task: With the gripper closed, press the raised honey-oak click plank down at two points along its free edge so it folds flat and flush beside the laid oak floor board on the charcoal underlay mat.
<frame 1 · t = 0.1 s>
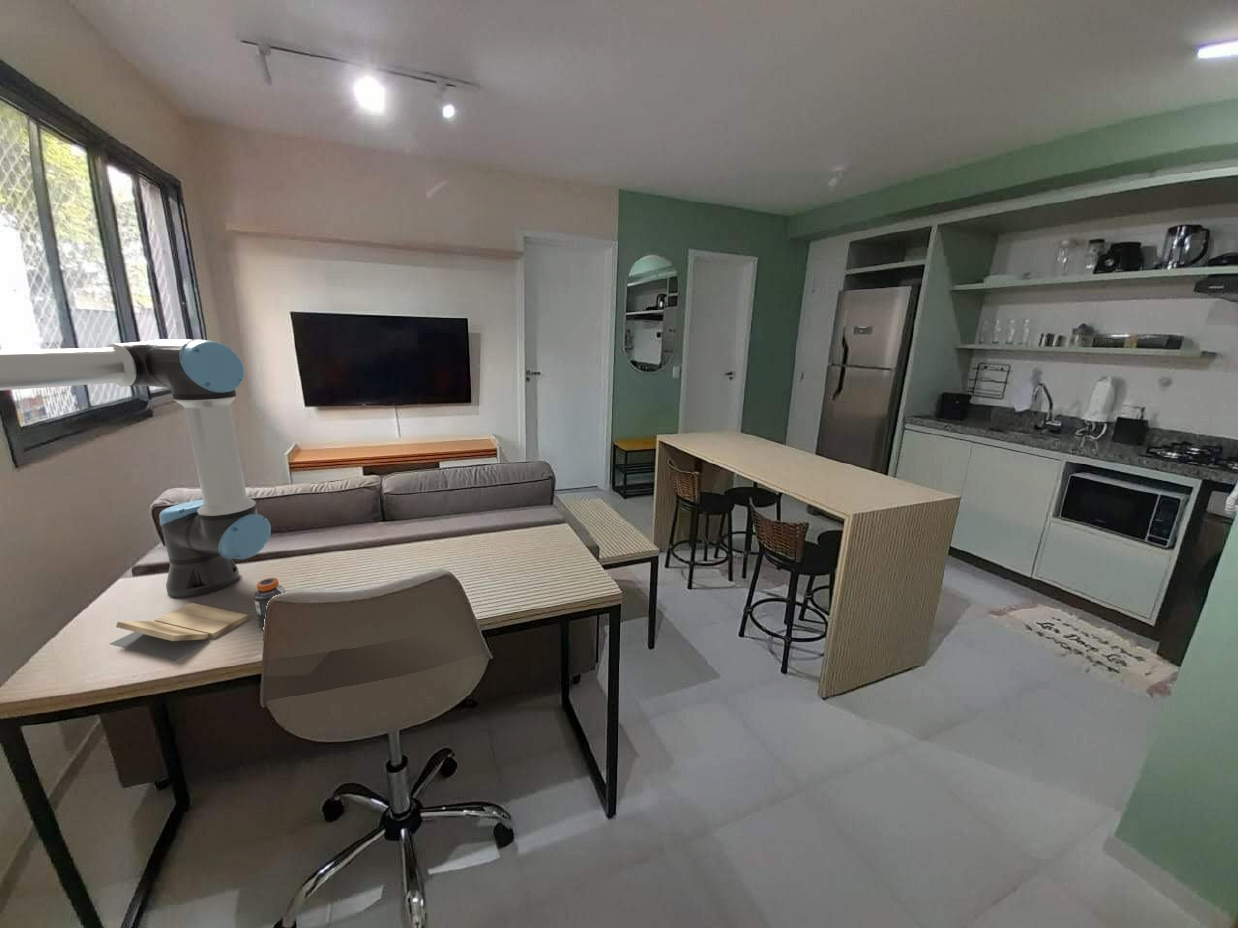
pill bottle: (275, 625, 116), on the table
click plank: (164, 630, 108), point 3 cm above the table, hinge at 30.0°
underlay mat: (185, 630, 113), on the table
floor board: (202, 622, 116), resting on underlay mat
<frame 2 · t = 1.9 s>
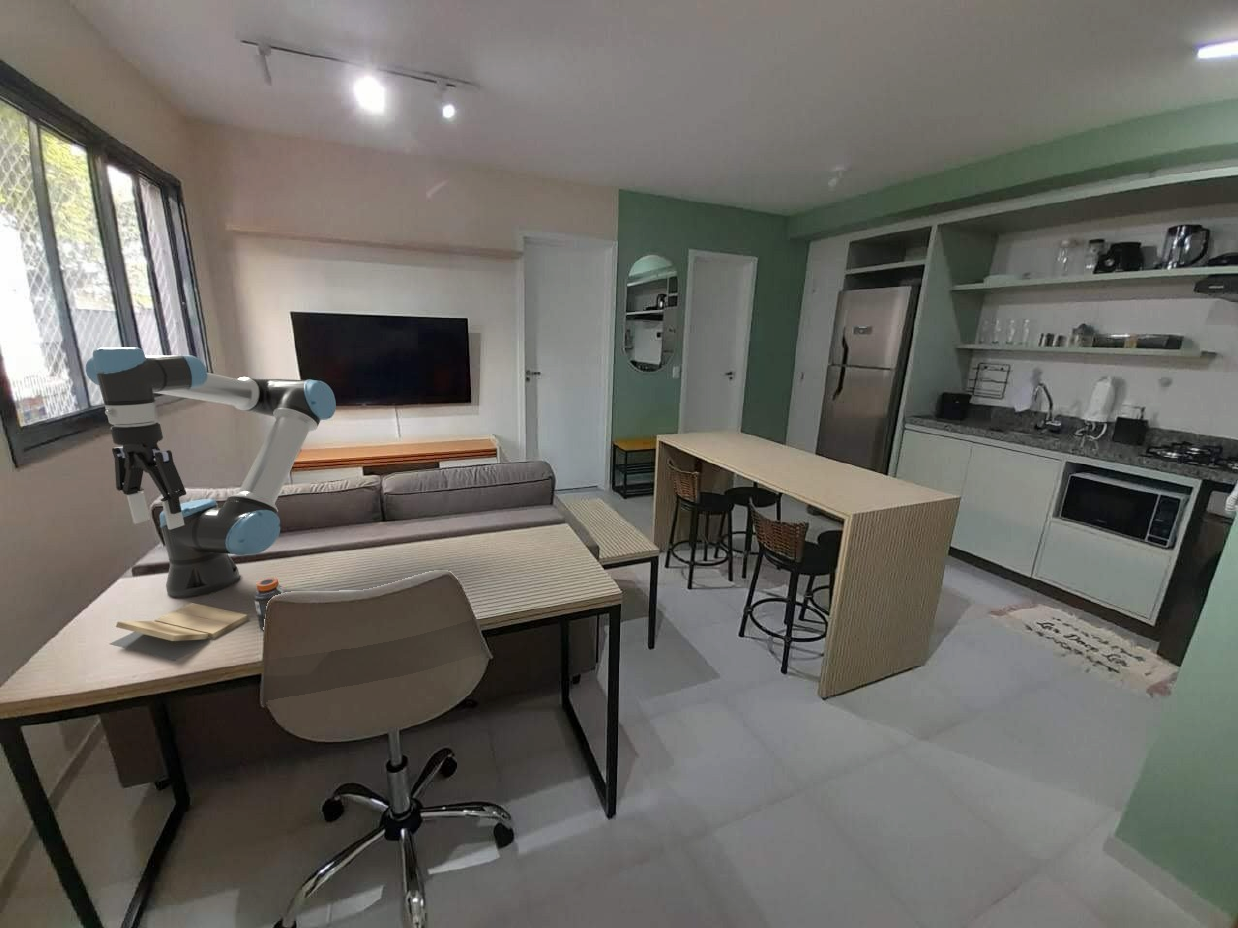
hand: (159, 524, 107), 26 cm above the table, fingers open, 10 cm apart
nothing on the table moved.
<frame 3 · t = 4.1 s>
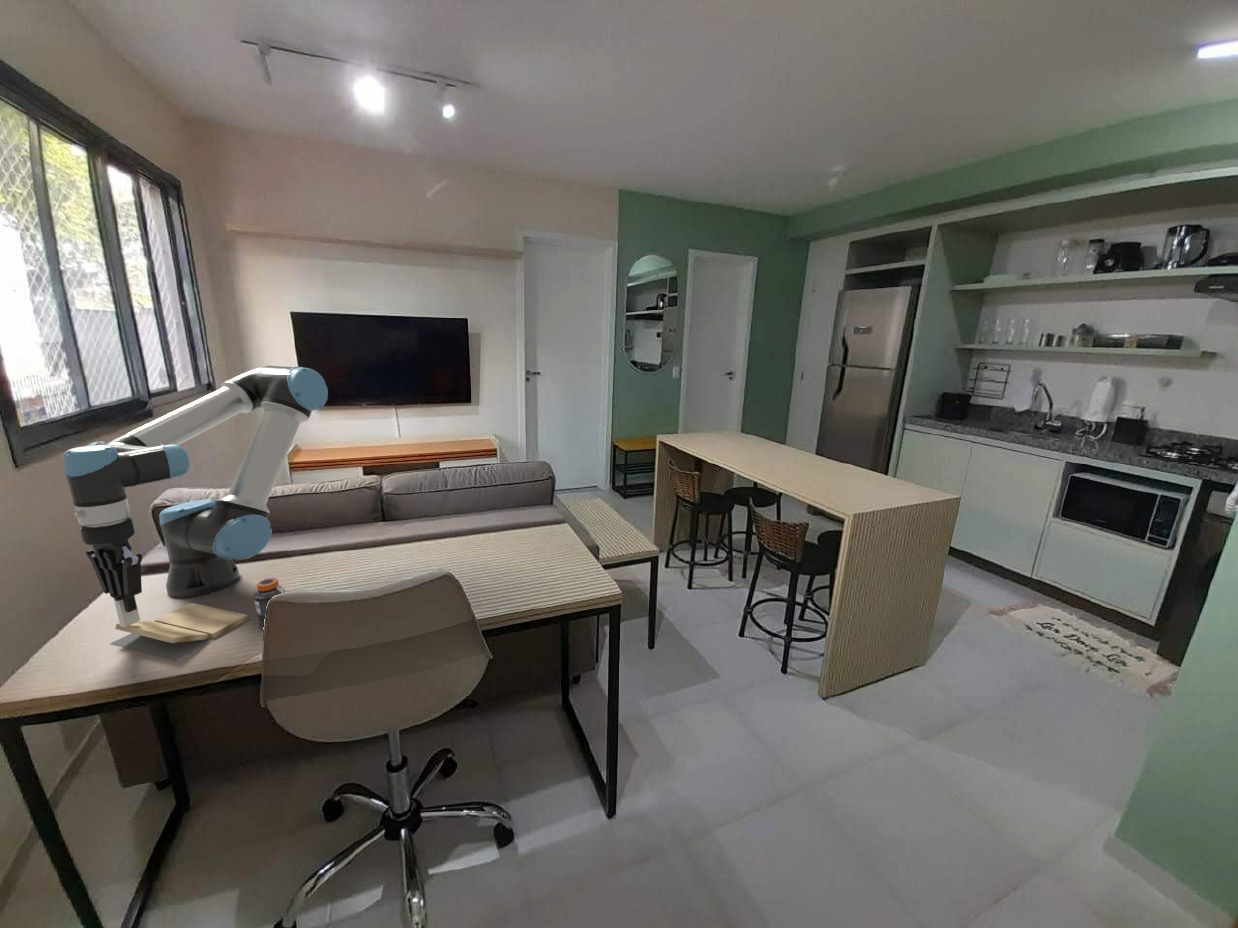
hand: (130, 623, 106), 5 cm above the table, fingers closed
click plank: (163, 631, 108), point 3 cm above the table, hinge at 27.0°, touching gripper
everything else where it was.
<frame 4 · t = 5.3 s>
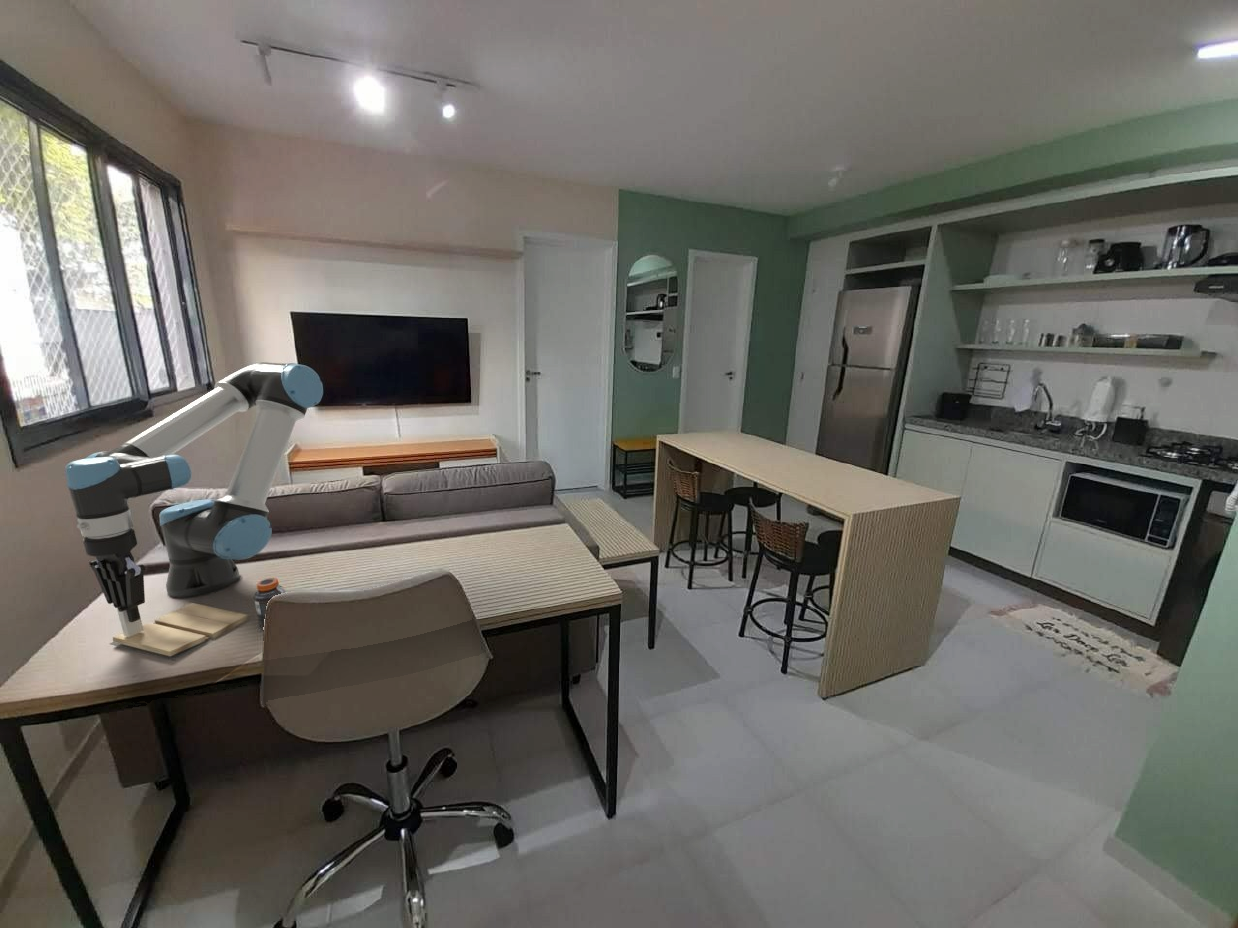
hand: (134, 632, 107), 3 cm above the table, fingers closed
click plank: (161, 638, 108), point 1 cm above the table, hinge at 6.3°
everything else where it was.
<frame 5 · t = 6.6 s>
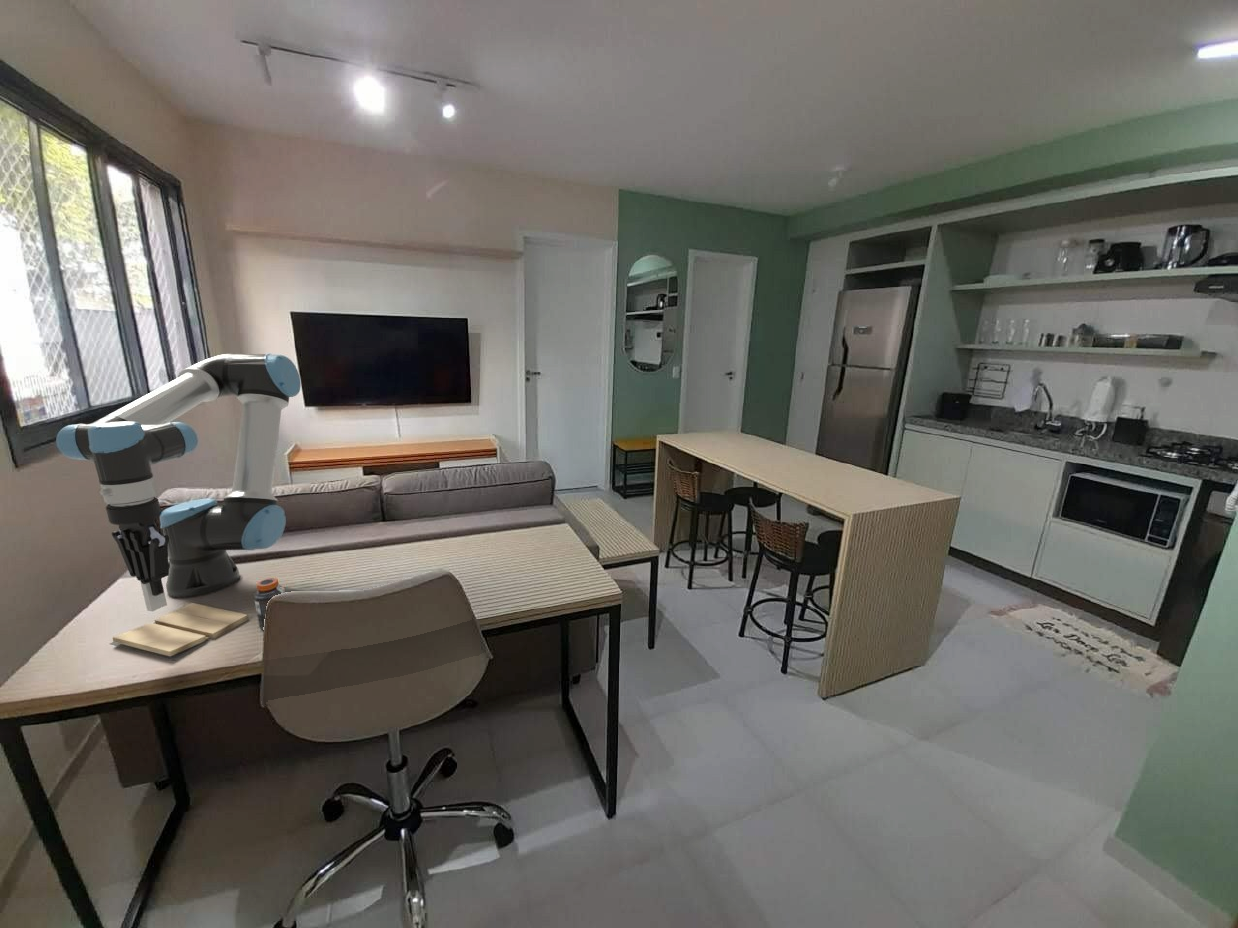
hand: (157, 607, 103), 11 cm above the table, fingers closed
nothing on the table moved.
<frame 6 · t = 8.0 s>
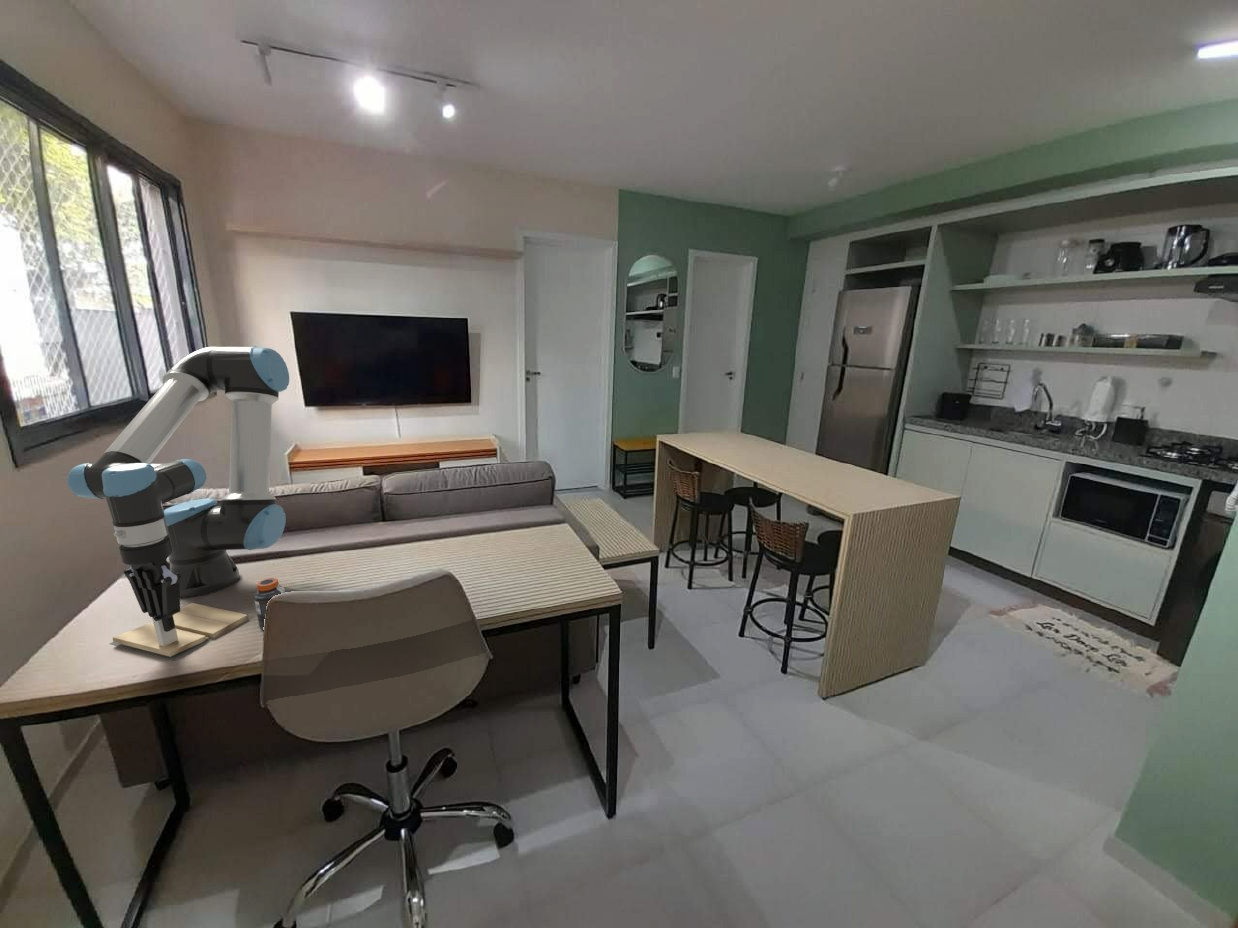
hand: (168, 642, 105), 2 cm above the table, fingers closed
click plank: (161, 638, 108), point 1 cm above the table, hinge at 5.9°, touching gripper
everything else where it was.
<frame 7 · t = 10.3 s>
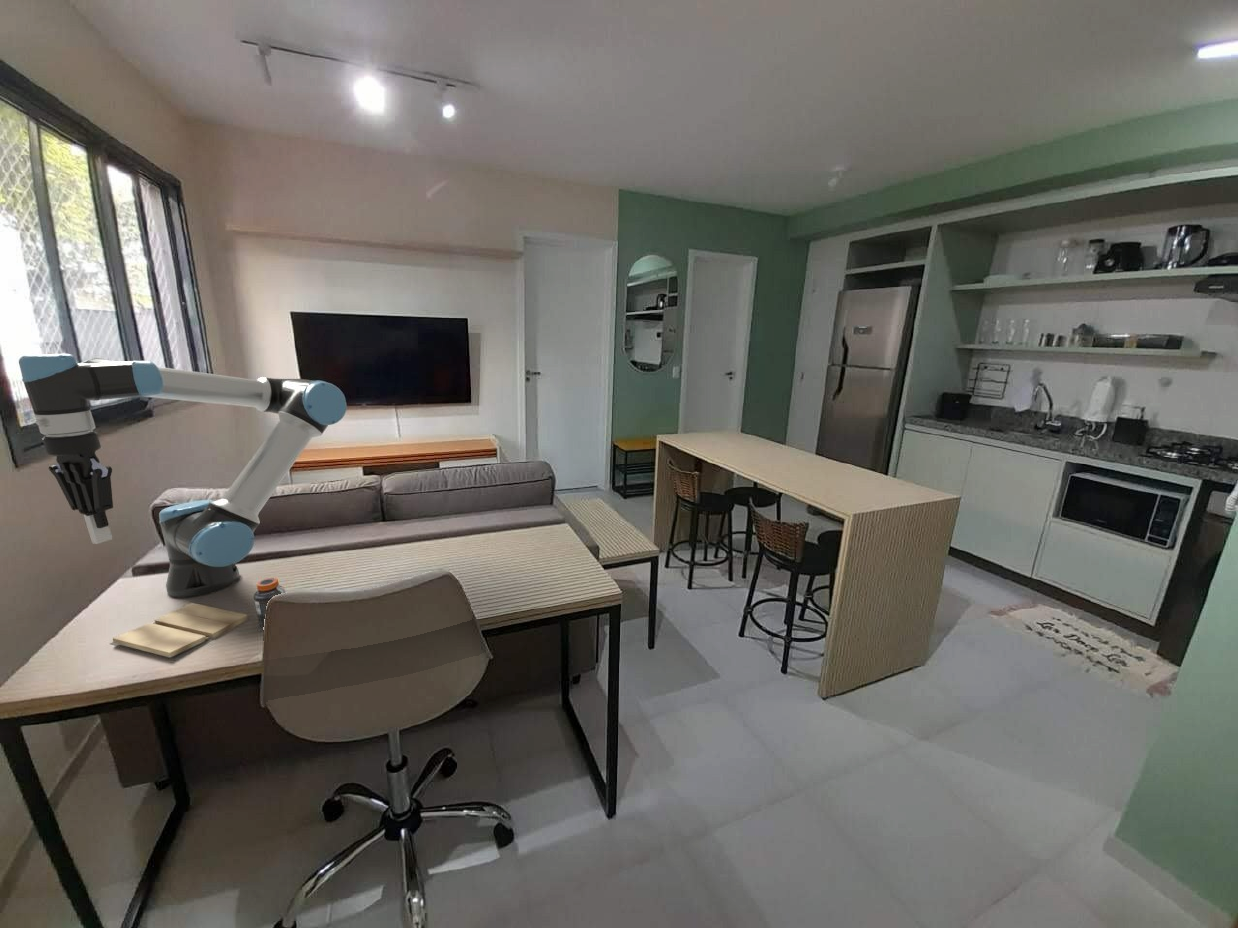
hand: (102, 540, 105), 23 cm above the table, fingers closed
click plank: (161, 638, 108), point 1 cm above the table, hinge at 4.5°
everything else where it was.
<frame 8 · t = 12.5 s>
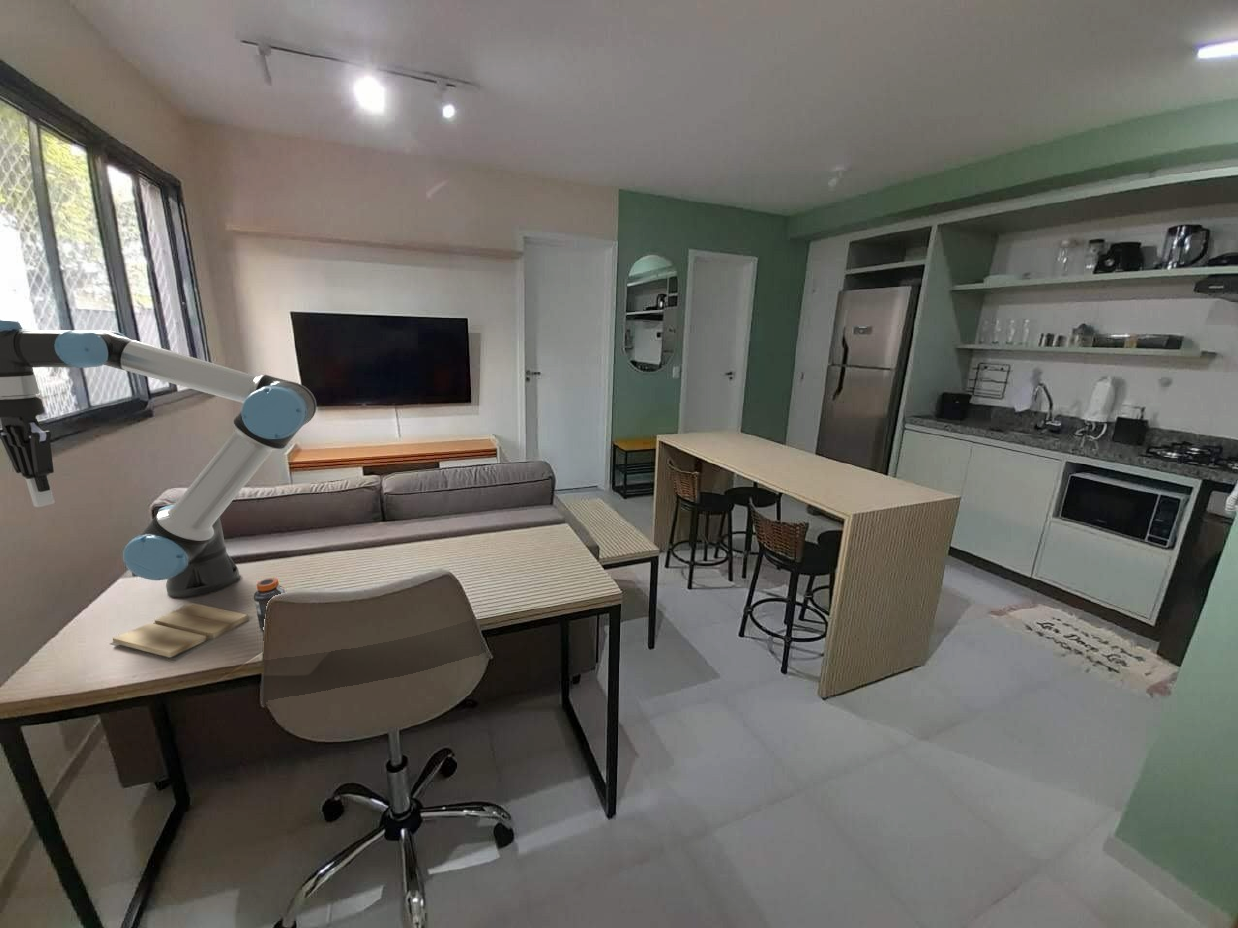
hand: (44, 504, 107), 29 cm above the table, fingers closed
nothing on the table moved.
at the end: click plank at +4° (first picture: +30°); the gripper is holding nothing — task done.
